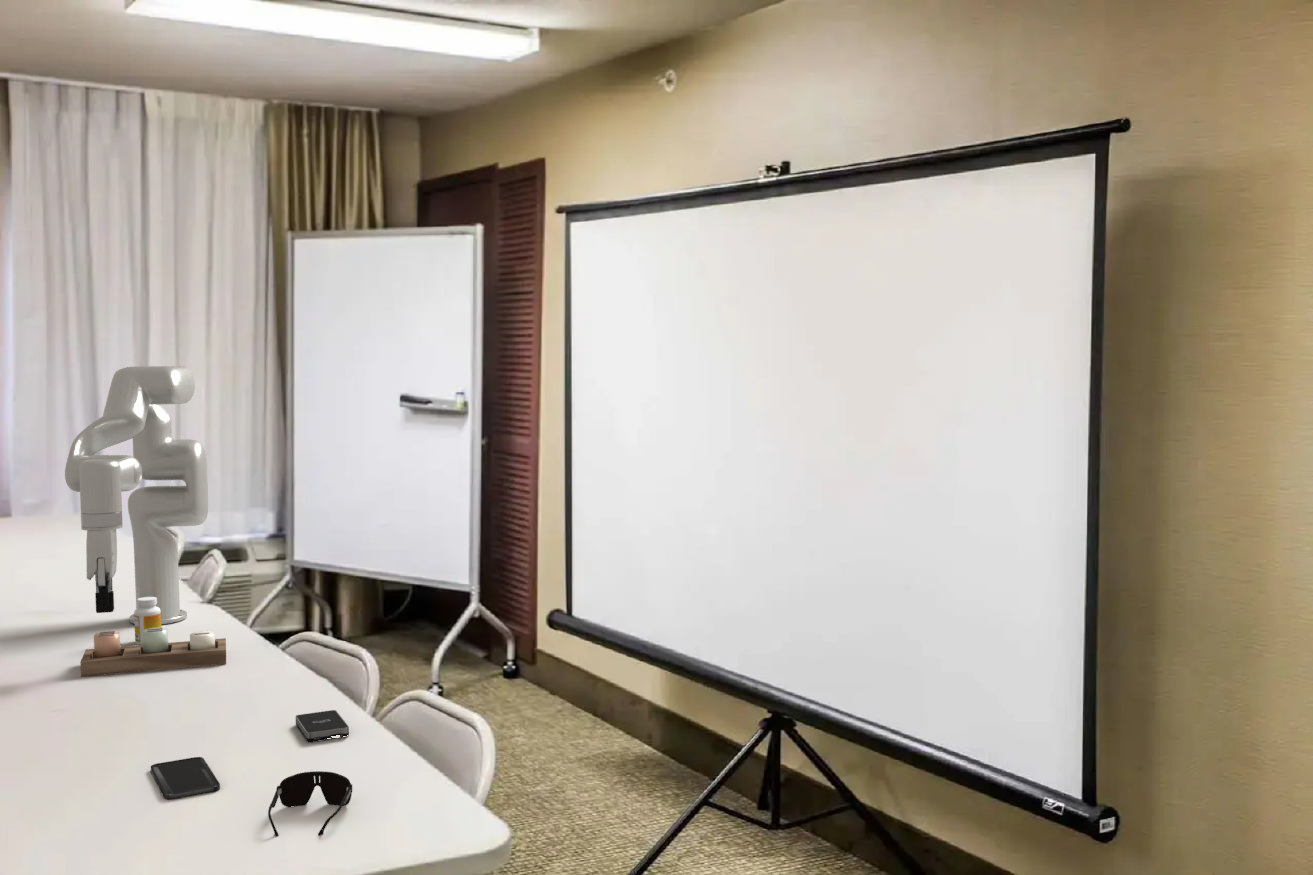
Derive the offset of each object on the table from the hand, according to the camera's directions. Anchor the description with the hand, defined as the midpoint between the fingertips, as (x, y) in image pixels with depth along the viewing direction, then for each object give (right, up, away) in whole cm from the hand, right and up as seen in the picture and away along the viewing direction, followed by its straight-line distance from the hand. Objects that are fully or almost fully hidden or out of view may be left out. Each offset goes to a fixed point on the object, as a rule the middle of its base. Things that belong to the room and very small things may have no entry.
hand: (105, 611), depth 247 cm
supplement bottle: (-1, -10, +22) cm, 25 cm away
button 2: (+8, -8, +4) cm, 13 cm away
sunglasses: (+62, -19, -76) cm, 100 cm away
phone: (+39, -17, -61) cm, 74 cm away
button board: (+8, -11, +4) cm, 15 cm away
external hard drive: (+54, -15, -38) cm, 68 cm away
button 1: (+17, -10, +7) cm, 21 cm away
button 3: (0, -9, +1) cm, 9 cm away
